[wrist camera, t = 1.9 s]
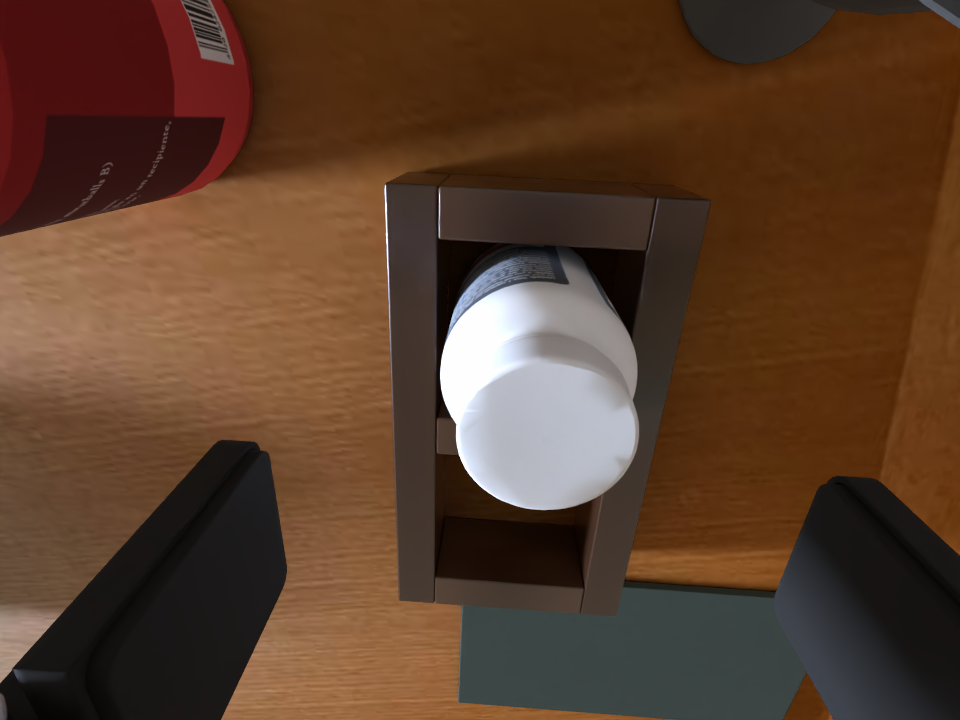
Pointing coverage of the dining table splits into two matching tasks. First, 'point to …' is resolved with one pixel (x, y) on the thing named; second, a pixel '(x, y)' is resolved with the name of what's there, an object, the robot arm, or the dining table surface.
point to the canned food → (115, 104)
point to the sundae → (783, 22)
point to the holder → (431, 429)
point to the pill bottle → (539, 378)
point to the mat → (636, 656)
